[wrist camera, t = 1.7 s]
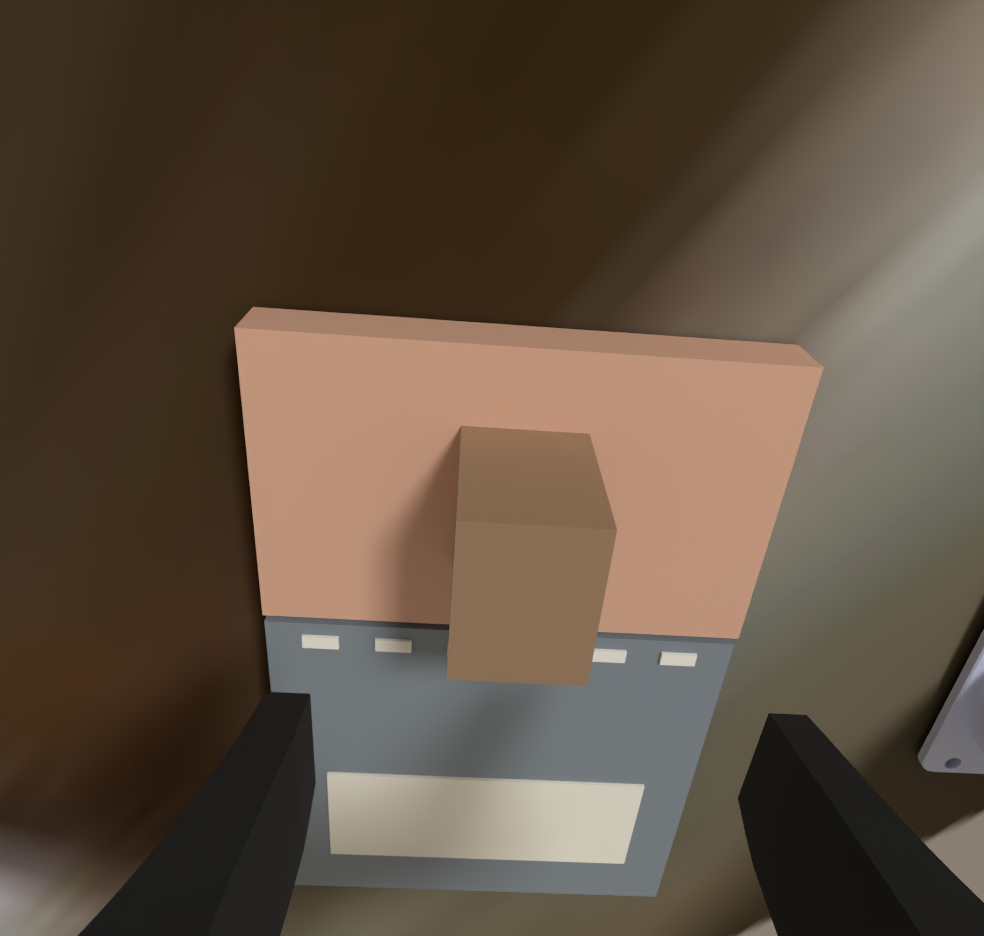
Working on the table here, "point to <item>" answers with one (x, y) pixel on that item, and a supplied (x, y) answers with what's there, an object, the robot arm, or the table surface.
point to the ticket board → (494, 760)
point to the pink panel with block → (514, 479)
